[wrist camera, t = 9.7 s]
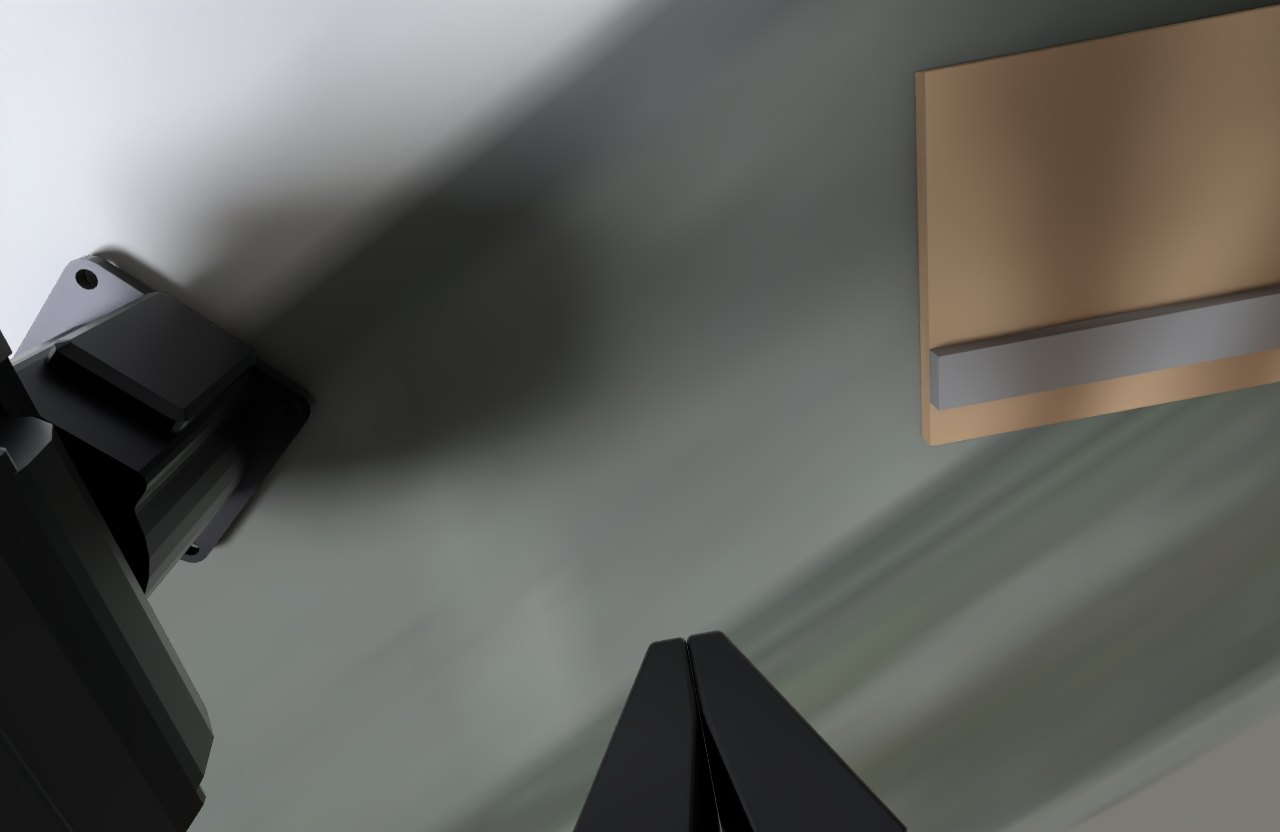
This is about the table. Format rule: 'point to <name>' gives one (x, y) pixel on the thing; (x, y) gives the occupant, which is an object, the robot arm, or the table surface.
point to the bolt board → (1099, 225)
